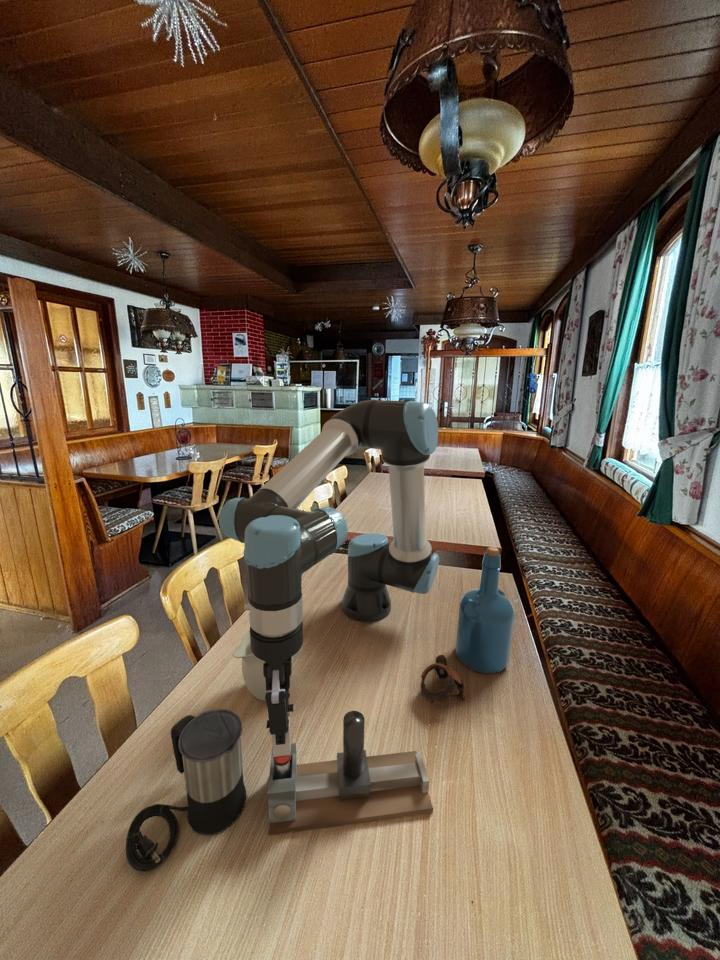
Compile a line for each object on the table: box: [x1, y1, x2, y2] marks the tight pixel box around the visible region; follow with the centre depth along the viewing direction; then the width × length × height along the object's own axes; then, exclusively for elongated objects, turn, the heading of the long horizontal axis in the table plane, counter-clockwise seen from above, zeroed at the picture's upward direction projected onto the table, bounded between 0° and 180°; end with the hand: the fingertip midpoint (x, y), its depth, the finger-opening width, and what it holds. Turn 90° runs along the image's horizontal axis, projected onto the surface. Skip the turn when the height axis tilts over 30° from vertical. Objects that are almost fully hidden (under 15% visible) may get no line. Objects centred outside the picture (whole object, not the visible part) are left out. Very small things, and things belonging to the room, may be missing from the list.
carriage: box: [336, 710, 371, 801], centre depth 63 cm, size 6×5×14 cm
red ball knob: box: [273, 751, 291, 780], centre depth 62 cm, size 3×3×5 cm
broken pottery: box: [420, 654, 467, 705], centre depth 86 cm, size 12×10×8 cm
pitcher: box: [232, 630, 303, 702], centre depth 86 cm, size 11×18×14 cm, turn 141°
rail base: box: [267, 742, 434, 836], centre depth 65 cm, size 10×26×7 cm, turn 98°
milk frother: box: [125, 708, 247, 873], centre depth 59 cm, size 14×16×15 cm
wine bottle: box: [455, 546, 516, 675], centre depth 94 cm, size 14×13×30 cm
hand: (281, 751), depth 61 cm, fingers closed
